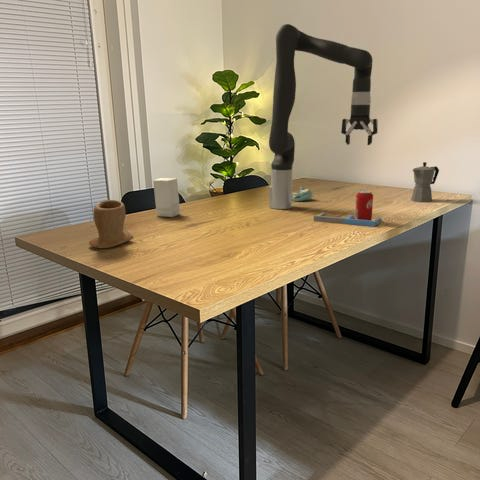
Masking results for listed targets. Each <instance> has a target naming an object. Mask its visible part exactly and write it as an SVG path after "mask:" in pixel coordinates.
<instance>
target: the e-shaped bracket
mask: <svg viewBox="0 0 480 480" xmlns="http://www.w3.org/2000/svg"><path fill="white" fill-rule="evenodd" d="M325 213H326V212H324V211H323V212H321V213H319V214H317V215H313V221H314V222H321V223H332V224H333V223H334V224H343V225H344V224H345V225H351V226H352V225H354V226H362V227H373V228H375V227H377V225H378V224H380V222H382V217H377V219H375V220H371V221H370V220H360V219H355V218H354V214H347V215H346V216H345V217H338V216H337V217H336V216H326V215H325Z"/></svg>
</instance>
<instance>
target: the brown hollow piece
mask: <svg viewBox="0 0 480 480" xmlns="http://www.w3.org/2000/svg"><path fill="white" fill-rule="evenodd" d="M126 214H127V213H126V207H125V204H124V203H123V202H122V201H120V200H117V199H108V200H103V201H100V202H99V203H97V204H95V206H94V207H93V221H94V225H95V227H96V229H97V234H98V237H95V238H93V239H90V240H89V241H88V245H90V246H91V247H94V248H99V249H109V248H112V247H116V246H119V245H122V244H123V243H126V242H128V241H132V240H133V239H134V235H132V234H131V232H129V230H127V229H124V224H125V219H126Z"/></svg>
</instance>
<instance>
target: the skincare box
mask: <svg viewBox="0 0 480 480" xmlns="http://www.w3.org/2000/svg"><path fill="white" fill-rule="evenodd" d="M152 184H153V190H154V191H153V192H154V202H155V211H156V213H155V214H156V216H157V217H165V218H168V217H169V218H173V217H176V216H179V215H181V211H180V198H179V185H178V178H175V177H174V178H171V177H159V178H157V179H153V180H152Z"/></svg>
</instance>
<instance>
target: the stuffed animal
mask: <svg viewBox="0 0 480 480" xmlns="http://www.w3.org/2000/svg"><path fill="white" fill-rule="evenodd" d="M312 197H313V192H312V191H311V189H310V188H304V187H303V186H299V192H292V202H298V203H302V202H304V201H305V202H306V201H310V200H312Z"/></svg>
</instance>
